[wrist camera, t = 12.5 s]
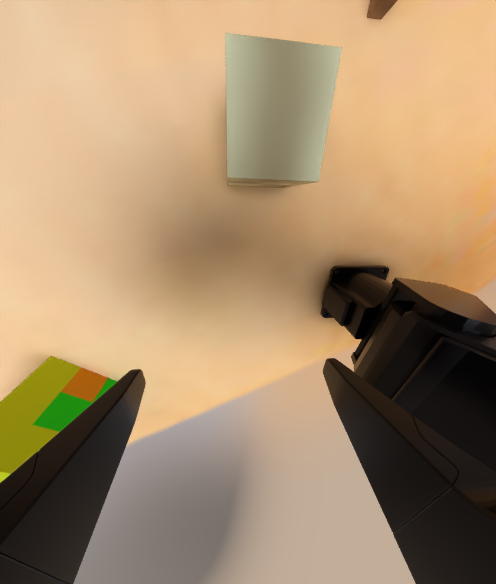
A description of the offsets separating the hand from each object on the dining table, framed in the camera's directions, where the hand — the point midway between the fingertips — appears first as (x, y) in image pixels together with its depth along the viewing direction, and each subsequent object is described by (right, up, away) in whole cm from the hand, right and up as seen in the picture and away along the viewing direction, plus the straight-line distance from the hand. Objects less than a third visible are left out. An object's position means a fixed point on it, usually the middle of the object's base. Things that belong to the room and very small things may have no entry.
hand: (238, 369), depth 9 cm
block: (+1, +15, +6) cm, 16 cm away
